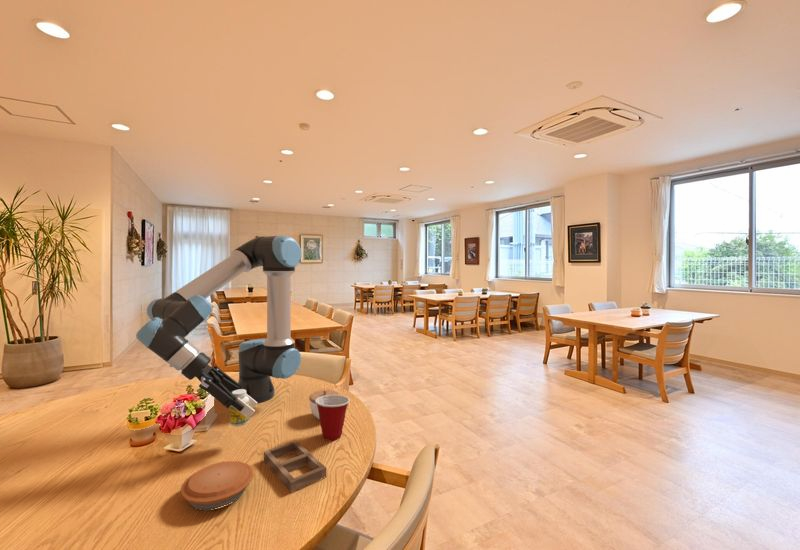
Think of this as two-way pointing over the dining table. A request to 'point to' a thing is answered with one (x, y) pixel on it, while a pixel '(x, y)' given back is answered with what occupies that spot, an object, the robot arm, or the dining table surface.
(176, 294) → the robot arm
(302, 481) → the two-window wooden frame
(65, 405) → the dining table surface
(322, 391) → the lidded jar
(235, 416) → the supplement bottle
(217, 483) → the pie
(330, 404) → the plastic cup
